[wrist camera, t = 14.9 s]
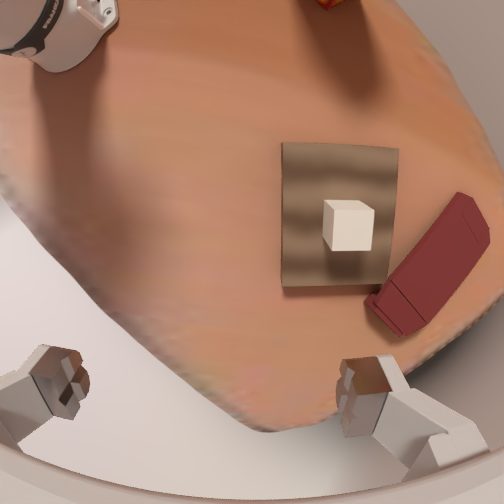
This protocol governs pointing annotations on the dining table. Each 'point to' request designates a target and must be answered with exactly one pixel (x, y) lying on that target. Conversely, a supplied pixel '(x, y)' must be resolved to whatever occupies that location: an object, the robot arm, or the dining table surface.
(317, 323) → the dining table surface
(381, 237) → the plinth
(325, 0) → the baking soda box
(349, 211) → the cream block
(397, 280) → the carton
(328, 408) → the dining table surface
